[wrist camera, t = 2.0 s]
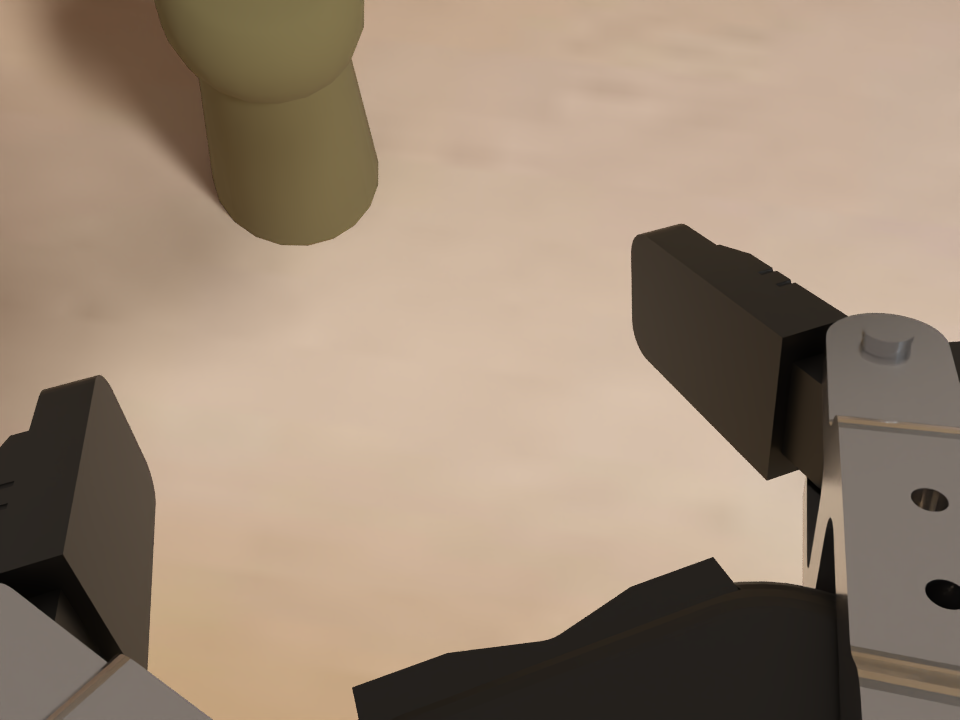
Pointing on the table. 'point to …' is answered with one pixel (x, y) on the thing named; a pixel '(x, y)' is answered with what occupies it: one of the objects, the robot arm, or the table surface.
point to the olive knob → (280, 111)
